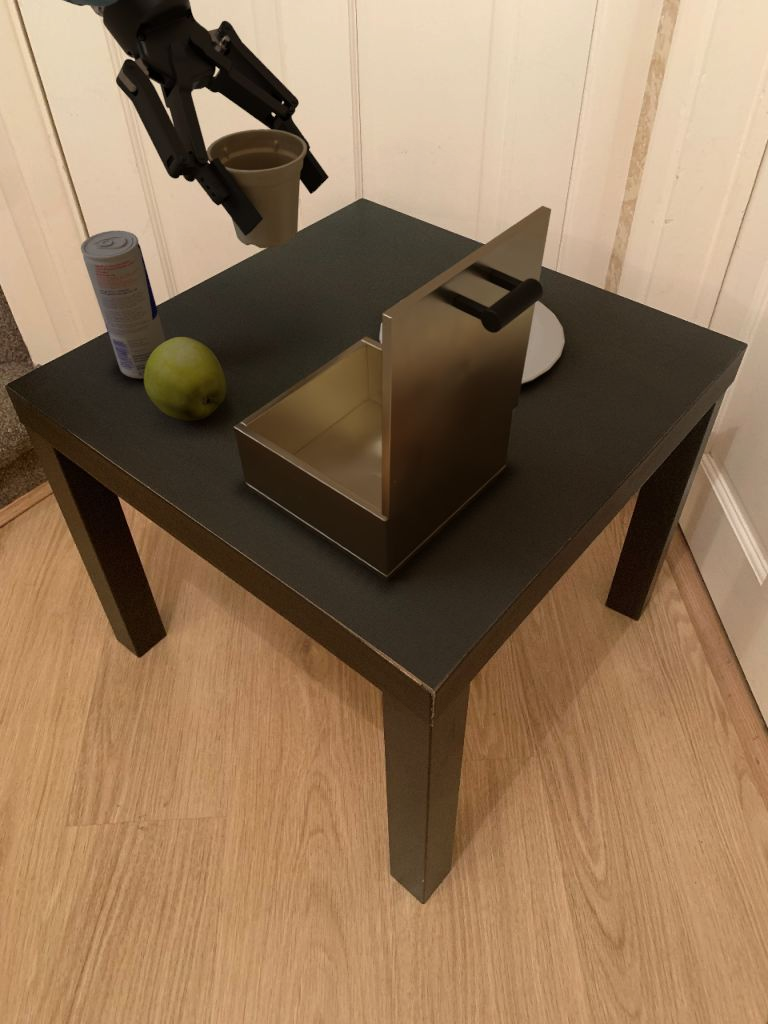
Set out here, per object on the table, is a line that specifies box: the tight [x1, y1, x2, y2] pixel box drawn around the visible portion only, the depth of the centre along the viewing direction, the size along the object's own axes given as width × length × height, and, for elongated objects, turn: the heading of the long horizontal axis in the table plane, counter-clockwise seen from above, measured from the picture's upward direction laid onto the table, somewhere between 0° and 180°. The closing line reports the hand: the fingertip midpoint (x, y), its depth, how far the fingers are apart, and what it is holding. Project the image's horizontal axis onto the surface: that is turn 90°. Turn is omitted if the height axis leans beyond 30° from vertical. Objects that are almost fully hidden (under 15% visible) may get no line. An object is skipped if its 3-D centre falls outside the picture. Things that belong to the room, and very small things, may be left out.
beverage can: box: [80, 230, 167, 380], centre depth 83 cm, size 6×6×15 cm
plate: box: [378, 299, 566, 386], centre depth 90 cm, size 21×21×2 cm
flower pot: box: [206, 128, 307, 249], centre depth 78 cm, size 9×9×9 cm
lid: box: [381, 205, 552, 519], centre depth 58 cm, size 18×18×5 cm
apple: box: [143, 336, 227, 421], centre depth 81 cm, size 8×9×8 cm
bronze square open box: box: [233, 336, 514, 582], centre depth 73 cm, size 18×18×8 cm
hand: (288, 205), depth 77 cm, fingers closed on flower pot, 9 cm apart
